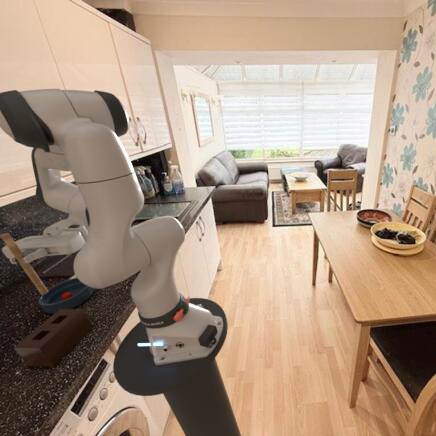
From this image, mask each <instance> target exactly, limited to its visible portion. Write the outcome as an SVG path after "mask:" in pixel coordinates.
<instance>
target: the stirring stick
mask: <svg viewBox="0 0 436 436" xmlns="http://www.w3.org/2000/svg"><path fill="white" fill-rule="evenodd" d="M0 238H1V240H2V241H3V243H5V246H8V248H9V249H10V251H11V252H12V253H13V255H14V256H15V258H16V259H17V261H18V262H19V265H20V267H21V268H22V270H24V272H25V274H26V275H27V276H28V278H29V279H30V281H31V282H32V283H33V285H34V286H35V288H36V289H37V291H38V292H39V293H40V296H42V295H44V294H46V293H48V290H49V289H48V288H47V287H46V285H45V284H44V282H43V281H42V279H41V278H40V276H39V275H38V274H37V272H36V271H35V269H34V267H33V266H32V264H31V262H30V263H22V261H21V260H20V258H22V257H23V256H24V254H23V253H22V252H21V250H20V249H19V247H18V246H17V244H16V243H15V242H16V241H15V239H14V238H13V237H12V235H11V234H10V232H4V233H1V234H0Z"/></svg>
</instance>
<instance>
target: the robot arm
mask: <svg viewBox="0 0 436 436" xmlns="http://www.w3.org/2000/svg"><path fill="white" fill-rule="evenodd" d="M129 128H130V119H129V115H128V112H127V110H126V108H125V106H124V104H123V102H122V101H121V100H120V98H118V97H117V96H116V95H115V94H113V93H111V92H107V91H103V90H96V89H95V90H93V91H91V90H90V91H89V90H77V89H61V88H40V89H29V90H22V91H18V90H17V89H13V90H6V91H1V92H0V129H1V130H2V131H3V132H4V133H5V134H6V135H7V136H8V137H10V138H11V139H12V140H13V141H14V142H15V143H18V144H19V145H22V146H25V147H28V148H32V150H31V154H30V155H31V157H30V158H31V165H32V169H33V174H34V178H35V179H34V180H35V183H36V187H35V198H36V200H37V202H38V204H39V205H41V206H43V207H45V208H50V209H54V210H57V211H59V212H63V213H64V214H65V213H66V214H68V216H67V218H65V219H61V220H59V221H57V222H55V223H53V224H51V225H49V226H47V227H46V228H45V229H43V233H42V235H30V236H26V237H23V238H21V239H18V240H16V241H15V243H16V244H17V246H18V247H19V249H20V250H21V252H22V253H23V254H24V256H23V257H22V258H20V260H21V261H22V263H30V264H31V263H32V262H34V261H35V260H38V259H41V258H44V257H51V256H63V255H64V256H65V255H72V254H75V253H76V252H77V253H76V255H75V257H74V260H73V272H74V273H75V275H76V277H77V278H78V279H79V280H80V281H81V282H82V283H83V284H85V285H86V286H89V287H92V288H95V290H96V289H97V290H101V289H105V288H108V287H110V286H113V285H116V284H119V283H122V282H124V281H125V280H127V279H129V278H130V277H132V276H133V275H135V274H137V273H139V274H138V275H137V276H136V277H135V279H134V281H133V282H132V285H131V287H130V297H131V299H132V302H133V304H134V305H135V307H136V310H137V315H138V318H139V322H140V321H141V323H142V324H143V326H145V328H146V331H147V335H148V339H149V343H140V344H138V346H149V349H150V352H151V353H152V355H153V356H154V362H155V364H156V365H162V364H168V363H174V362H180V361H186V360H192V359H198V358H204V357H207V356H208V355H209V354H210V353H211V352H212V351H213V350H214V348H215V347H216V345H217V343H218V341H219V339H220V337H221V334H222V330H223V320H222V318H221V317H218V316H213V315H212V313H211V312H210V311H209V310H207V309H204V308H203V306H202V305H200V304H198V305H194V304H191V303H189V301H190V299H189V298H190V296H188V297H187V298H186V297H185V296H184V295H183V294H182V293H181V292H180V291H179V288H178V285H177V281H176V278H175V265H176V260H177V257H178V255H179V251H180V249H181V247H182V245H183V244H184V242H185V239H186V230H185V228H184V226H183V224H182V223H181V222H180V221H179V220H178V219H177V218H175V217H173V216H171V215H162V216H158V217H153V218H150V219H147V220H145V221H143V222H140V223H138V224H136V225H133V226H132V223H133V221H134V220H135V217H136V216H137V215H138V214H139V213H140V212H141V210H142V209H143V208H144V205H145V195H144V193H143V190H142V188H141V185H140V182H139V179H138V177H137V174H136V171H135V168H134V166H133V164H132V161H131V158H130V156H129V153H127V150H126V149H125V147H124V145H123V143H122V141H121V139H120V138H121V137H122V136H125V135H126V134H127V133H128V131H129ZM62 172H71V175H72V178H73V180H74V182H75V184H74V183H72V182H70V181H68V180H66V179H64V178H63V177H62ZM1 251H2V254H3V255H4V256H5V257H6V258H7V259H9V262H10V264H12V265H18V264H19V265H20V263H19V262H18V261H17V259H16V258H15V256H14V255H13V253H12V252H11V251H10V249H9V248H8V246H7V245H4V246H3V247H2V248H1ZM186 299H187V300H186ZM210 347H211V348H210ZM163 359H164V360H163Z"/></svg>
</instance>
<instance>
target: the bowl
mask: <svg viewBox="0 0 436 436" xmlns="http://www.w3.org/2000/svg"><path fill="white" fill-rule="evenodd" d="M47 290H48V293H46V294H44V295H40V296H39V299H38V304H39V306H40V307H41V309H42V311H44V313H47V314H52V315H54V314H55V313H56V312H57V311H59V310H60V309H75V308H77V307H79V306H81V305H82V304H84V303H85V302H86V301H88V300H89V299H90V298H91V296H92V295H93V293H94V292H95V290H96V288H92V287H89V286H86V285H85V284H83V283H82V282H81V281H80V280H79V279H78V278H73V279H70V280H66V279H65V280H64V281H62V282H60V283H57V284H55V285H53V286H52V287H50V288H49V289H47ZM67 292H70V293H72V295H73V296H72V297H70V298H68V299H66V300H63V299H62V295H63V294H64V293H67Z"/></svg>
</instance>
